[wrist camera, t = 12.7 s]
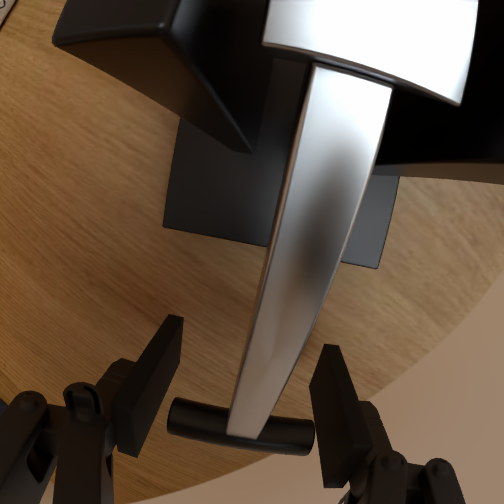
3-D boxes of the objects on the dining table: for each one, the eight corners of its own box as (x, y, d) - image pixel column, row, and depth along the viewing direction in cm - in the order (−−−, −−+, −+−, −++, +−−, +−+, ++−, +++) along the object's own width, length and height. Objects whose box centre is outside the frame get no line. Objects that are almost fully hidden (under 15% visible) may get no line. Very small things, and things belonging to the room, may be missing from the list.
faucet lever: (304, 417, 11) (302, 471, 9) (180, 396, 11) (164, 449, 9) (478, -2, 3) (557, -13, 1) (216, -76, 3) (174, -138, 1)
